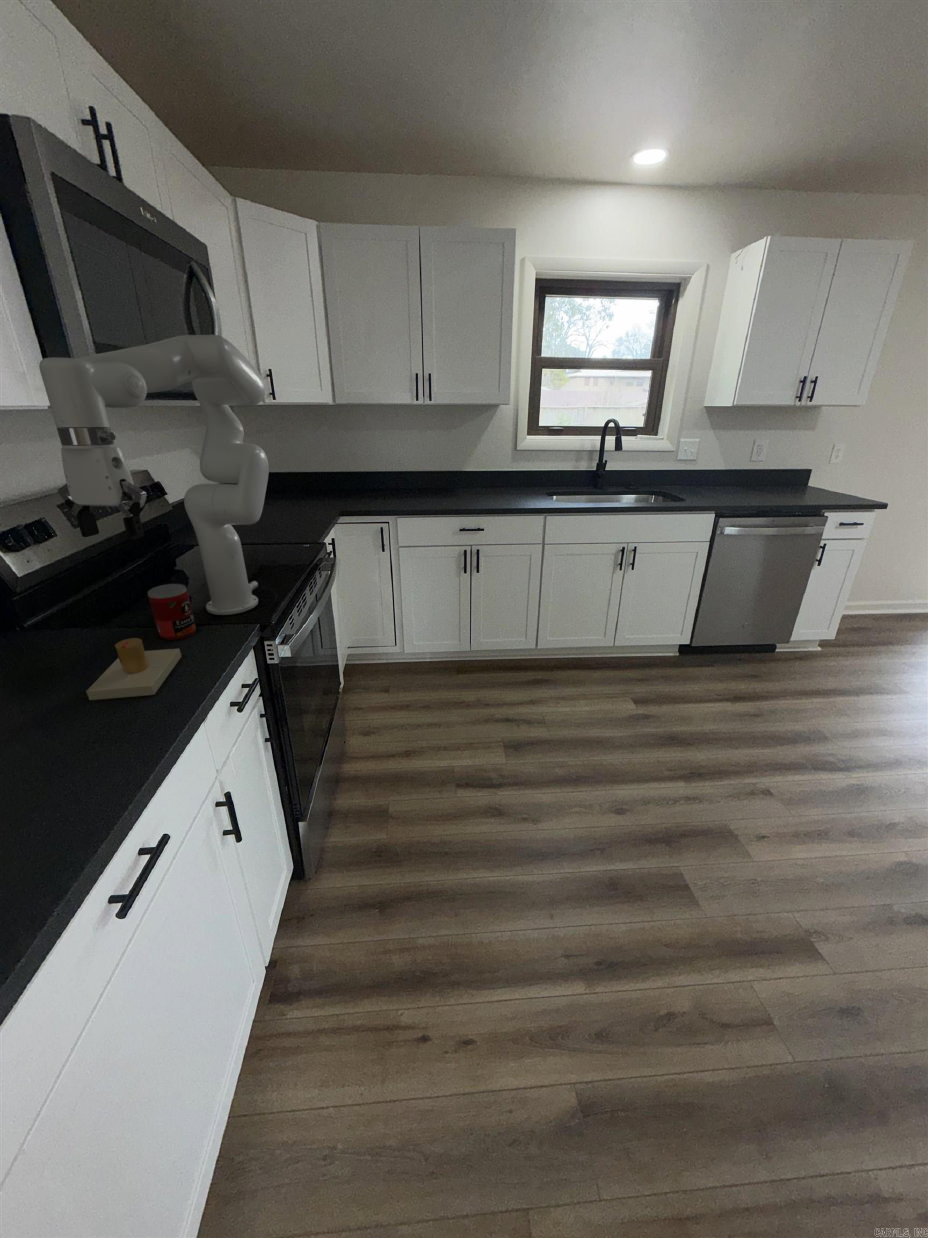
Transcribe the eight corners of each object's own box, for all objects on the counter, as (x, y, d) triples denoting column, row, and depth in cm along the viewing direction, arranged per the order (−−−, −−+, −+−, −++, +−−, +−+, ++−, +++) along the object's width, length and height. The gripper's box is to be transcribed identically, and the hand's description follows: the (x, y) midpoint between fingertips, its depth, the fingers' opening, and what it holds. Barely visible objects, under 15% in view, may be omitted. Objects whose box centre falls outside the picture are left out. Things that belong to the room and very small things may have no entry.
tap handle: (128, 663, 99) (120, 637, 97) (152, 661, 100) (145, 635, 97) (119, 674, 95) (110, 647, 93) (143, 672, 96) (135, 646, 93)
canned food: (181, 641, 112) (169, 596, 107) (151, 638, 114) (138, 594, 109) (204, 627, 119) (194, 584, 114) (175, 624, 120) (164, 582, 116)
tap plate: (125, 660, 104) (122, 651, 103) (181, 656, 106) (179, 647, 105) (89, 700, 91) (85, 690, 90) (154, 694, 92) (151, 684, 91)
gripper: (147, 438, 87) (169, 534, 94) (64, 437, 90) (91, 530, 97) (112, 440, 80) (138, 543, 87) (23, 439, 83) (55, 539, 90)
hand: (113, 536), depth 92 cm, fingers open, 9 cm apart
